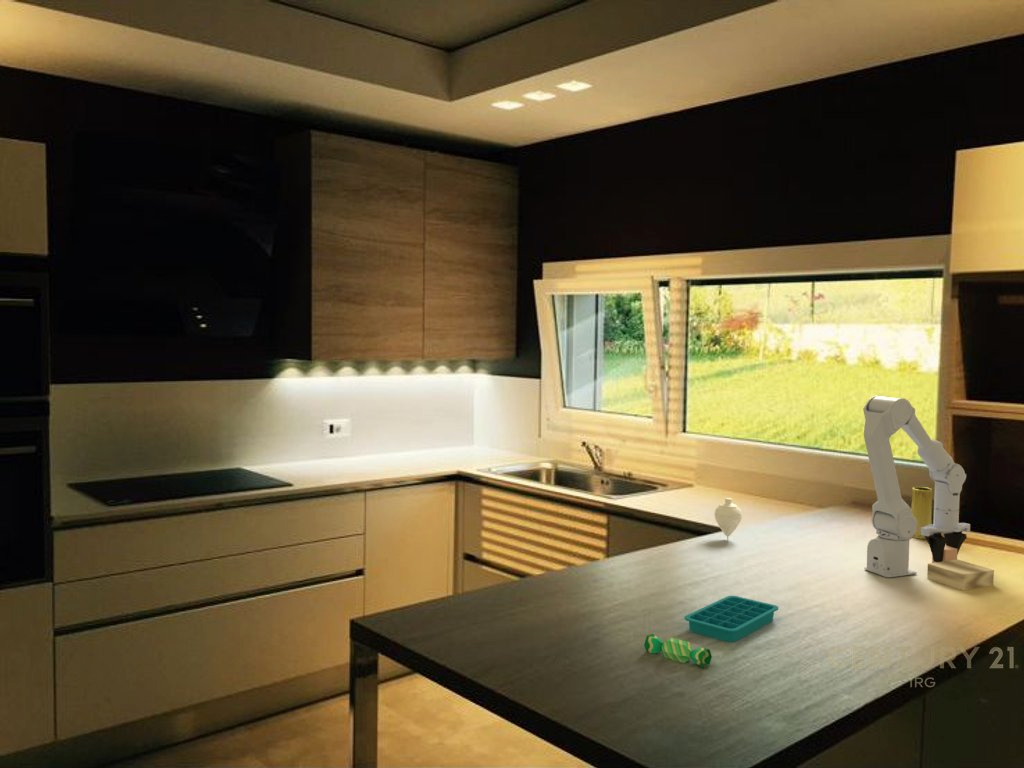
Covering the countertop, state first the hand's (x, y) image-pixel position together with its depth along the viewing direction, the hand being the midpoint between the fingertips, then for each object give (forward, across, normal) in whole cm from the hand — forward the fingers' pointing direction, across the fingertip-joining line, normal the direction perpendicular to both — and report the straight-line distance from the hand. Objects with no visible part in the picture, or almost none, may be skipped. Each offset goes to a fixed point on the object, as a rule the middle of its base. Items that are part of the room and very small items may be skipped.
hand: (944, 561), depth 219 cm
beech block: (+2, -7, -11) cm, 13 cm away
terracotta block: (+1, 0, 0) cm, 1 cm away
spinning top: (+2, -36, +43) cm, 56 cm away
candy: (+2, -96, -28) cm, 100 cm away
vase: (+2, +19, +26) cm, 32 cm away
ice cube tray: (+2, -76, -17) cm, 78 cm away
